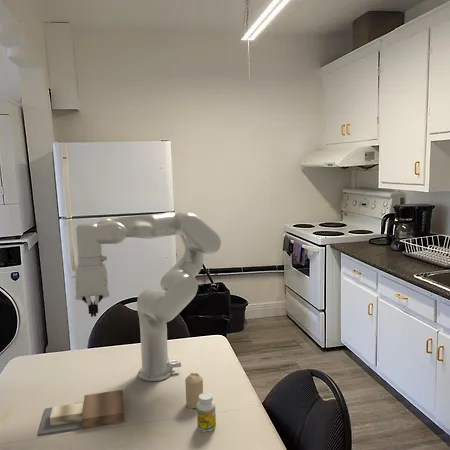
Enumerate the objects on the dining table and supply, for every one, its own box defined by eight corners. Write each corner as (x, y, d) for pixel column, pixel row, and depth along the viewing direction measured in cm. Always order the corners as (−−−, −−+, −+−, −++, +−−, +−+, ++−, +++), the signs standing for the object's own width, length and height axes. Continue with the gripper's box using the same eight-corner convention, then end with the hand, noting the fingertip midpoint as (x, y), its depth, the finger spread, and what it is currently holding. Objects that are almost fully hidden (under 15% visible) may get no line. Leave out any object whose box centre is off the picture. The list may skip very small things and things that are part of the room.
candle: (190, 411, 135) (189, 380, 134) (183, 402, 140) (182, 373, 139) (206, 406, 138) (205, 376, 136) (199, 398, 143) (198, 369, 141)
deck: (123, 398, 144) (122, 389, 143) (124, 421, 130) (124, 412, 130) (85, 404, 141) (84, 395, 140) (82, 428, 127) (81, 419, 127)
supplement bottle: (218, 423, 128) (217, 393, 127) (211, 434, 123) (210, 402, 122) (202, 420, 130) (201, 390, 129) (194, 430, 125) (193, 399, 124)
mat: (85, 404, 141) (85, 402, 140) (82, 428, 127) (82, 427, 127) (45, 409, 138) (45, 408, 137) (38, 435, 124) (38, 434, 124)
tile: (83, 410, 136) (83, 402, 136) (82, 420, 130) (82, 413, 130) (53, 414, 134) (52, 407, 134) (50, 425, 128) (49, 417, 128)
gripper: (113, 257, 147) (116, 309, 150) (67, 260, 144) (70, 314, 146) (114, 261, 140) (117, 316, 143) (64, 265, 136) (68, 321, 139)
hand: (93, 315), depth 144 cm, fingers closed
